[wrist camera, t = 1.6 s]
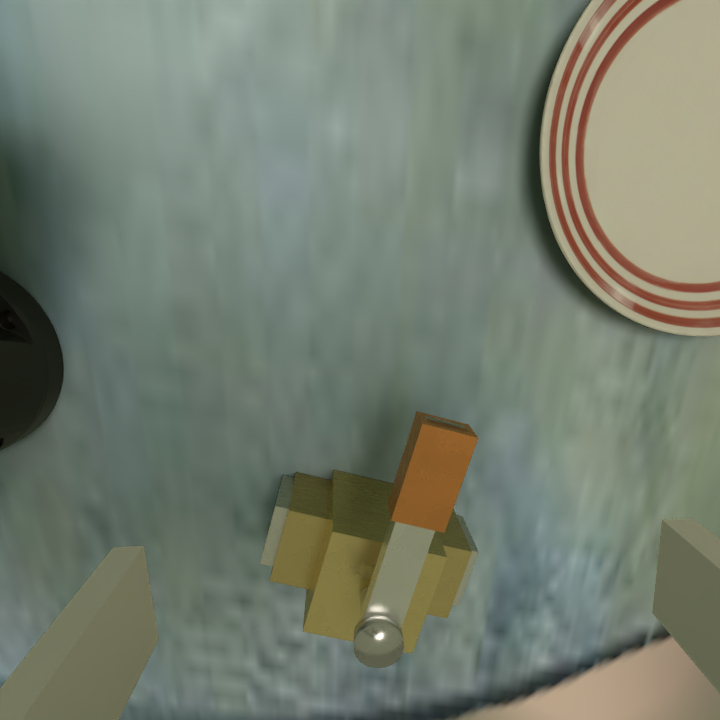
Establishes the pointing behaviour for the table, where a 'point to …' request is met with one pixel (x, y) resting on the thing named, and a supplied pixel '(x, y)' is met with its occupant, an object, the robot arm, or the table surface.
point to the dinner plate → (639, 159)
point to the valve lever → (411, 531)
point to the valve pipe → (355, 553)
